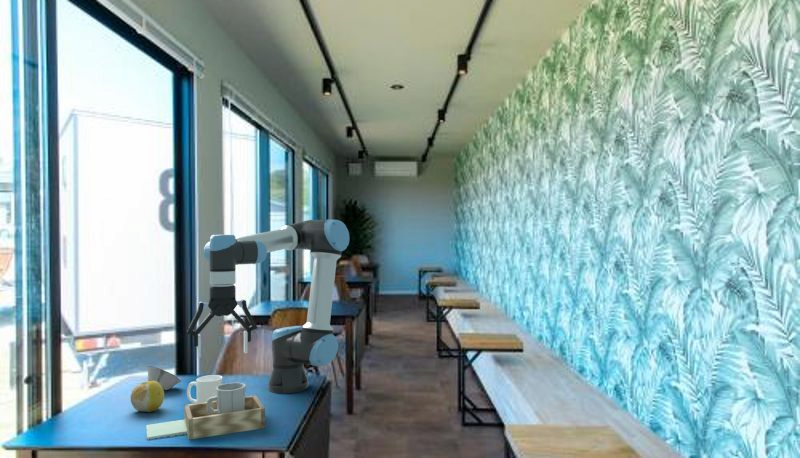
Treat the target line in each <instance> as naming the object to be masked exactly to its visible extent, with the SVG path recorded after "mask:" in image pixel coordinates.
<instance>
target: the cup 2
mask: <svg viewBox="0 0 800 458" xmlns="http://www.w3.org/2000/svg"><path fill="white" fill-rule="evenodd" d="M246 389H247V388H246V384H245V383H243V382H227V383H222V384H221V385H218V386H217V387H216V396H213V397H209V398H208V399H207V411H208V412H209V413H211V414H223V413H229V412H236V411H243V410H244V404H245V397H246ZM213 401H217V409H215V410H214V409H213V408H212V407H211V405H210V404H211V403H212V402H213Z"/></svg>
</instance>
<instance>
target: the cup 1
mask: <svg viewBox="0 0 800 458" xmlns="http://www.w3.org/2000/svg"><path fill="white" fill-rule="evenodd" d="M195 380H196V381H191V382H190V383H188V385H187V389H186V396H187V397H186V398H187V399H188V401H189V402H190V403H191V404H196V403H203V402H207V399H208V398H209V397H213V396H216V387H217V386H218V385H221V384H223V376H222V375H219V374H210V375H203V376H202V375H201V376H200V377H197V378H196V379H195ZM192 386H195V387H196V388H195V389H196V390H195V391H196V399H195V398H192V396H191V390H192Z"/></svg>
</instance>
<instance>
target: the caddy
mask: <svg viewBox="0 0 800 458" xmlns="http://www.w3.org/2000/svg"><path fill="white" fill-rule="evenodd" d="M210 405H211V407H212V408H213V409H214V410H215V409H217V401H213V402H212V403H211V404H210ZM183 407H184V411H183V412H184V419H185V424H186V429H187V434H186V435H187V439H188V440H195V439H200V438H201V439H202V438H207V437H214V436H221V435H228V434H229V435H230V434H234V433H241V432H247V431H253V430H260V429H265V428H266V408H265V407H264V405H263V404H262V403H261V401H260V399H259V398H258V397H257V396H256V395H254V394H253V395H247V396H246V395H245V404H244V410H243V411H236V412H229V413H223V414H211V413H209V412H208V411H207V402H203V403H188V404H184V405H183Z"/></svg>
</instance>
